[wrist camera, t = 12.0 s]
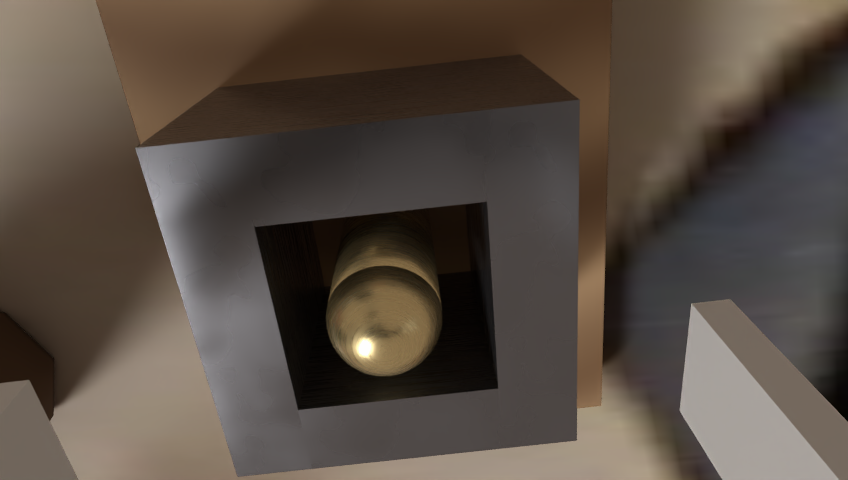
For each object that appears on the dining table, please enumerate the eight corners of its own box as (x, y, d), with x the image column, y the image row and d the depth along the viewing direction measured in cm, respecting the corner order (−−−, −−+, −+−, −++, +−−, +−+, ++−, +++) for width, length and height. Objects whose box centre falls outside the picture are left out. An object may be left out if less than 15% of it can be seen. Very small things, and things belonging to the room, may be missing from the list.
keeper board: (103, -67, 20) (74, -69, 18) (595, -122, 20) (615, -131, 18) (244, 414, 28) (233, 445, 26) (588, 376, 28) (601, 405, 26)
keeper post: (340, 179, 21) (309, 303, 14) (424, 169, 21) (440, 289, 14) (353, 254, 23) (331, 407, 15) (432, 246, 23) (451, 394, 15)
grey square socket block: (218, 87, 20) (135, 148, 14) (521, 54, 20) (579, 99, 14) (279, 340, 24) (237, 476, 18) (529, 313, 24) (576, 440, 18)
